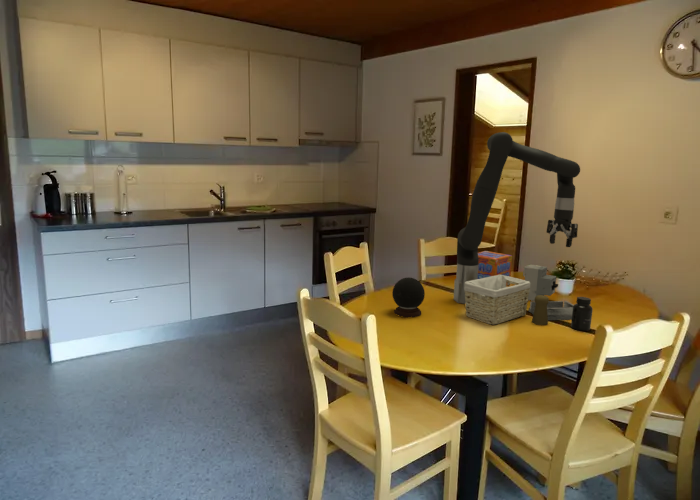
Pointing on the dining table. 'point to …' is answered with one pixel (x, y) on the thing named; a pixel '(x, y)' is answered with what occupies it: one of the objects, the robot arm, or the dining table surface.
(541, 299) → the cork
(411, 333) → the dining table surface
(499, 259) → the game box
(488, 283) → the storage basket
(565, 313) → the grey wooden tray
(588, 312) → the supplement bottle
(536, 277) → the circuit breaker
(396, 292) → the black ball on stand
